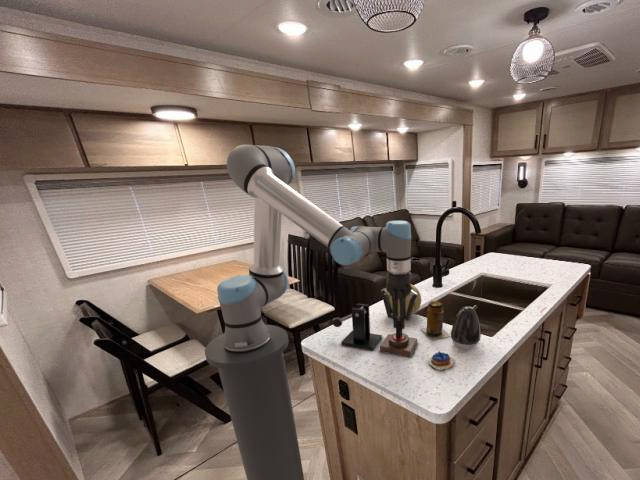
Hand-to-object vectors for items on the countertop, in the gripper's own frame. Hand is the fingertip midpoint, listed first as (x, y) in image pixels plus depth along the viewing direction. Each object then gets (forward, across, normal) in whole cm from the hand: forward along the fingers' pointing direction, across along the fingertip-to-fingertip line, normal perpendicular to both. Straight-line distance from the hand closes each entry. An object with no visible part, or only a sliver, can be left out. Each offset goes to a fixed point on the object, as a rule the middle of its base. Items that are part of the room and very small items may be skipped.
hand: (399, 336), depth 111 cm
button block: (+5, 0, 0) cm, 5 cm away
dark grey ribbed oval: (+5, +22, +8) cm, 24 cm away
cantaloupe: (+5, -6, +25) cm, 26 cm away
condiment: (+5, +10, +14) cm, 18 cm away
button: (+2, 0, 0) cm, 2 cm away
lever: (-3, -18, 0) cm, 18 cm away
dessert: (+5, +16, -5) cm, 17 cm away
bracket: (+5, -14, 0) cm, 15 cm away
